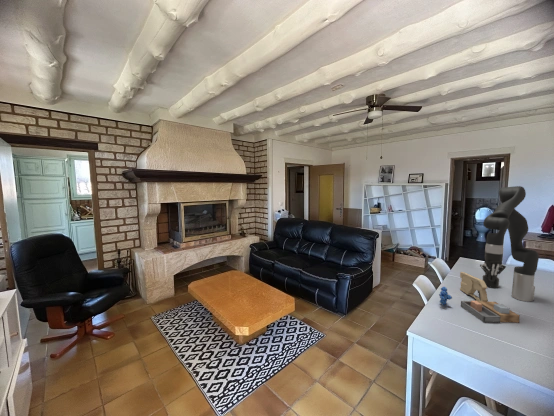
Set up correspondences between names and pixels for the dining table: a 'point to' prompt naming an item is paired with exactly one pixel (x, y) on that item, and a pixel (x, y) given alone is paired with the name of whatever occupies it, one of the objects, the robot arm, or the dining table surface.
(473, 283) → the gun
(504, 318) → the board
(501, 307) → the pale blue-gray cube
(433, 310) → the dining table surface
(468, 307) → the tray
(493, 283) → the ink bottle
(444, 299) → the grapes
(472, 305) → the cube terracotta
